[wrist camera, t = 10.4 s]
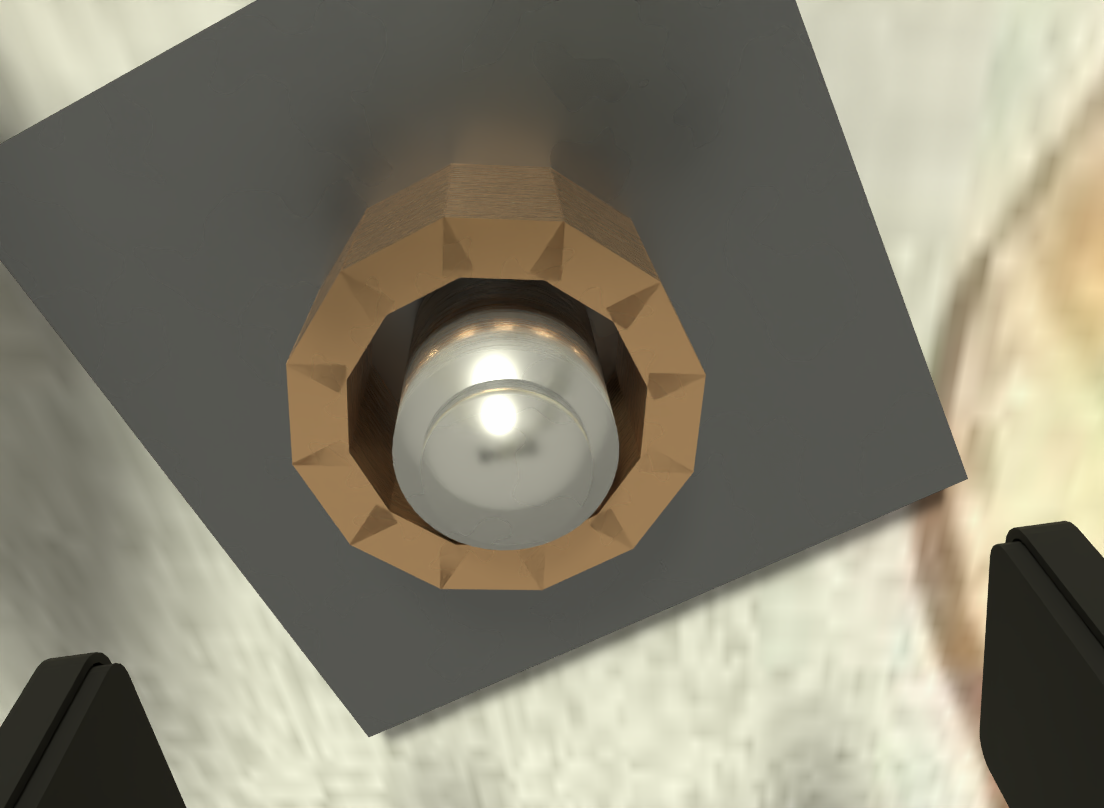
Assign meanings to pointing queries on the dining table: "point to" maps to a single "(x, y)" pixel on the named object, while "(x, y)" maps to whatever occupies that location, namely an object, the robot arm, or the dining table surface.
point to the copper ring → (500, 253)
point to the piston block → (481, 305)
